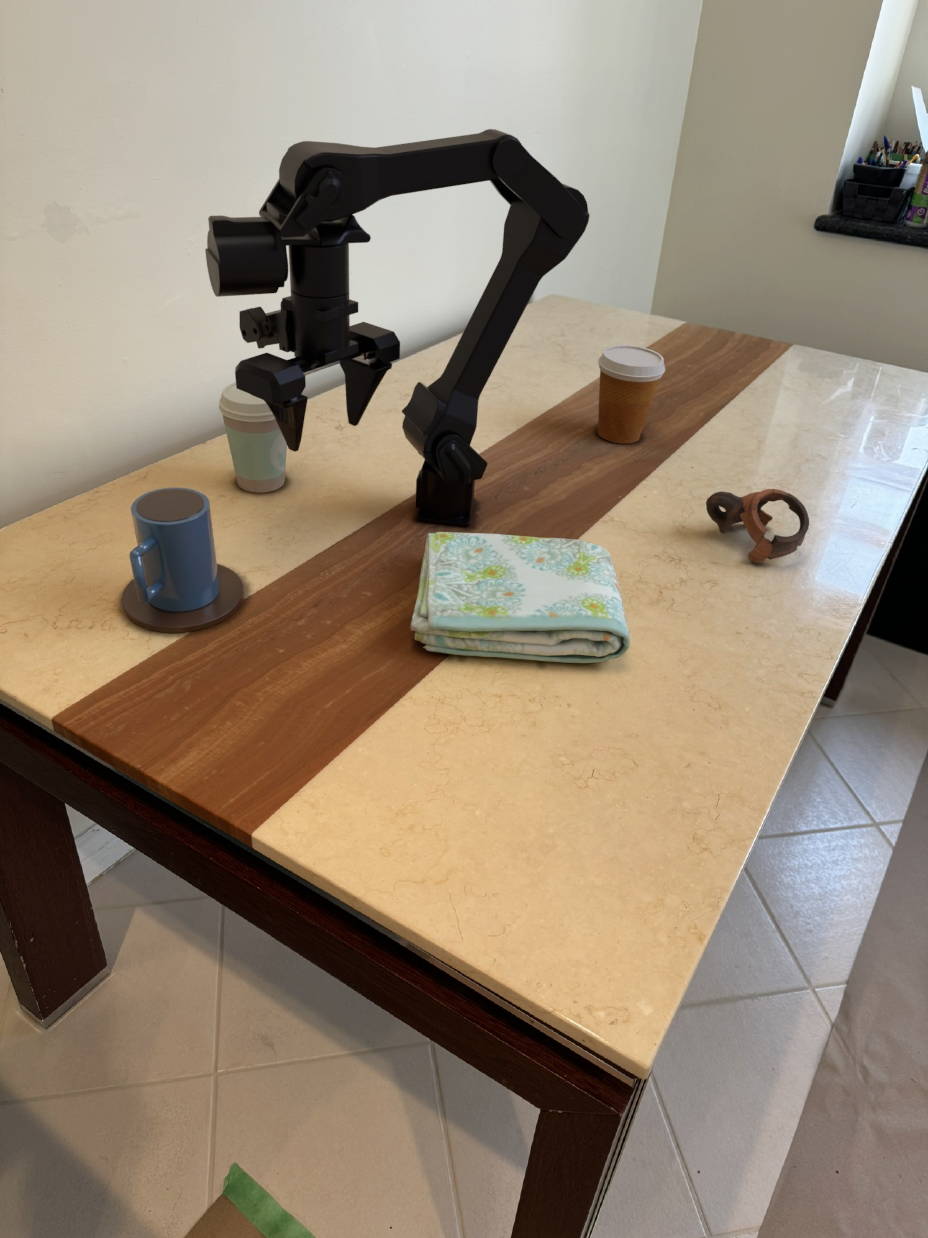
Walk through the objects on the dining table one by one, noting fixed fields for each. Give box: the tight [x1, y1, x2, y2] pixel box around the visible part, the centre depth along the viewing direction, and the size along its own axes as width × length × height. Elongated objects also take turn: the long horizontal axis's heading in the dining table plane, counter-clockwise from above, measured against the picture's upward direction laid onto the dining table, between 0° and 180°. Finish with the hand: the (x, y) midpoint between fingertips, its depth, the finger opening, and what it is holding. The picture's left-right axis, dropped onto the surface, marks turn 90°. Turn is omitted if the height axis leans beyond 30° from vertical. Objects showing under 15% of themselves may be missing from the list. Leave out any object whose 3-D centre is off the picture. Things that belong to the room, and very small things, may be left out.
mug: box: [128, 487, 220, 612], centre depth 85 cm, size 10×7×10 cm
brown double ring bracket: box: [705, 488, 810, 564], centre depth 105 cm, size 12×10×8 cm
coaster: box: [121, 563, 245, 634], centre depth 89 cm, size 12×12×1 cm
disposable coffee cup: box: [597, 344, 666, 444], centre depth 126 cm, size 10×10×12 cm
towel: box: [410, 531, 631, 664], centre depth 90 cm, size 18×21×5 cm
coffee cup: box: [218, 381, 288, 494], centre depth 107 cm, size 9×8×12 cm
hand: (324, 436), depth 95 cm, fingers open, 9 cm apart
